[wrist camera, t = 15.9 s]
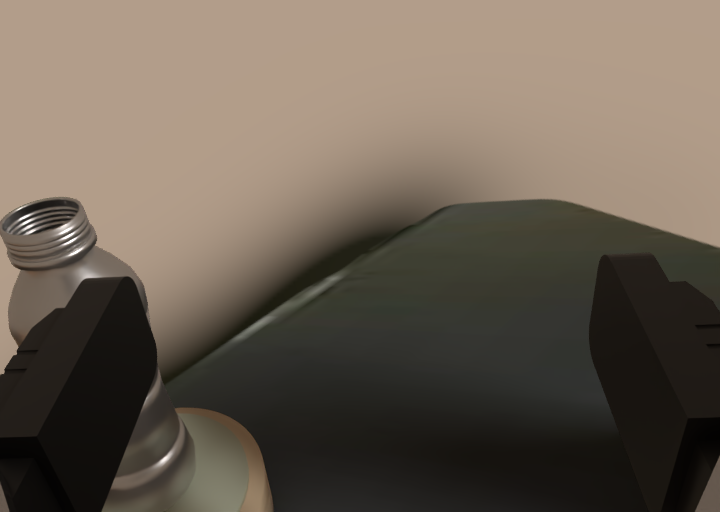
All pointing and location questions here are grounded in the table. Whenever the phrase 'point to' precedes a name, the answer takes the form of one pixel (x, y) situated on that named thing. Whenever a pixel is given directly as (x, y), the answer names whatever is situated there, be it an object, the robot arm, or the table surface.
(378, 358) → the table surface
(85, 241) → the plastic bottle
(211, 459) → the wooden stand
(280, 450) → the table surface
